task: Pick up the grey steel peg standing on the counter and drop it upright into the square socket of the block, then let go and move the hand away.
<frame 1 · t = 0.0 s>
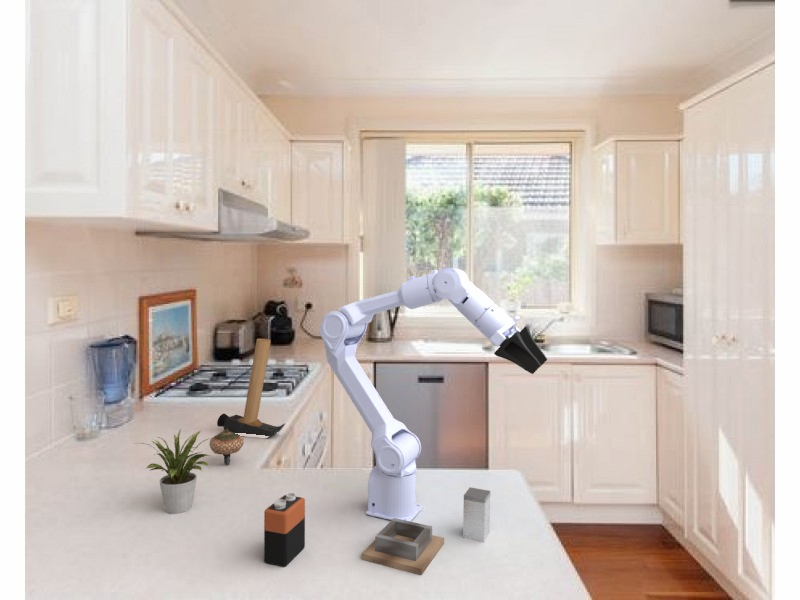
hand: (540, 366, 91), 32 cm above the countertop, tool tilted 50°, fingers open, 7 cm apart
hammer: (250, 435, 155), on the countertop
battery: (285, 556, 87), on the countertop
socket block: (404, 550, 89), on the countertop
house plant: (172, 511, 104), on the countertop
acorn: (226, 465, 129), on the countertop
peg: (476, 535, 95), on the countertop
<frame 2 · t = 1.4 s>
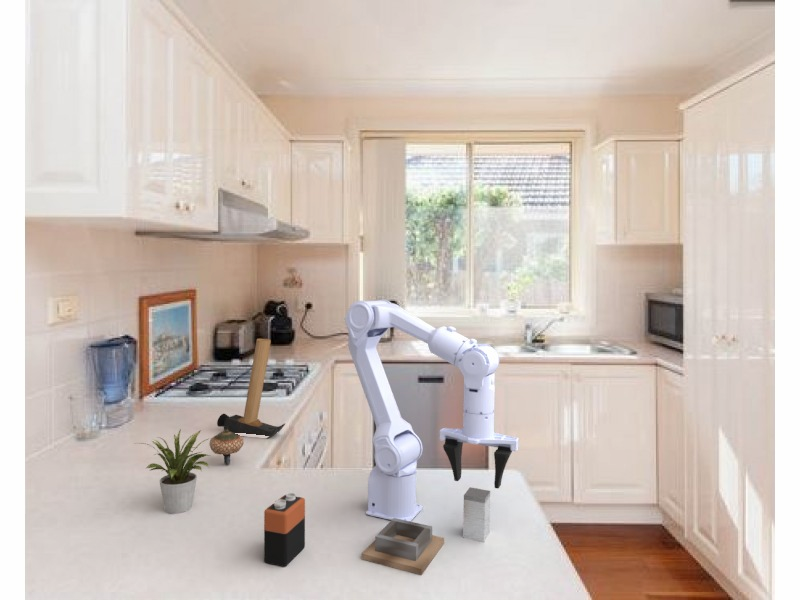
hand: (477, 482, 95), 10 cm above the countertop, tool pointing down, fingers open, 7 cm apart
nothing on the countertop moved.
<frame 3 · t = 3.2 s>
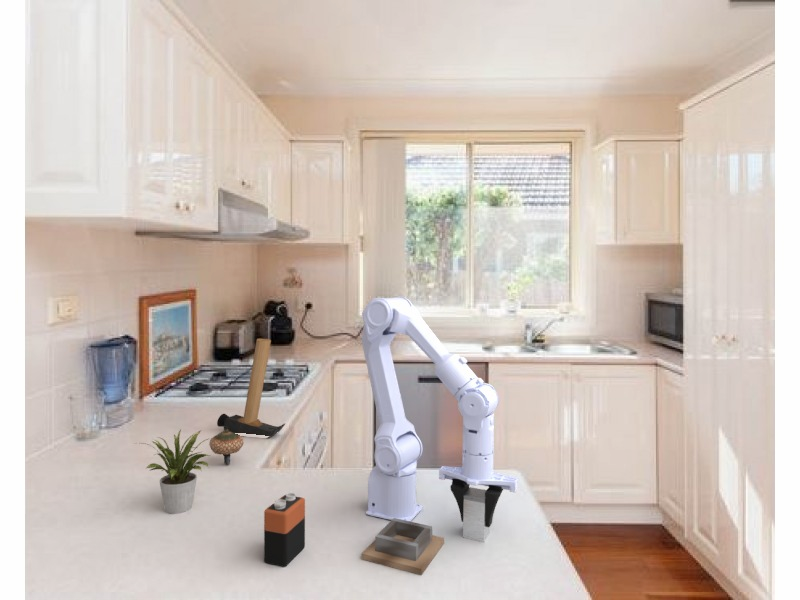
hand: (476, 522, 95), 2 cm above the countertop, tool pointing down, fingers closed on peg, 4 cm apart
peg: (476, 534, 95), on the countertop, touching gripper
everything else where it was.
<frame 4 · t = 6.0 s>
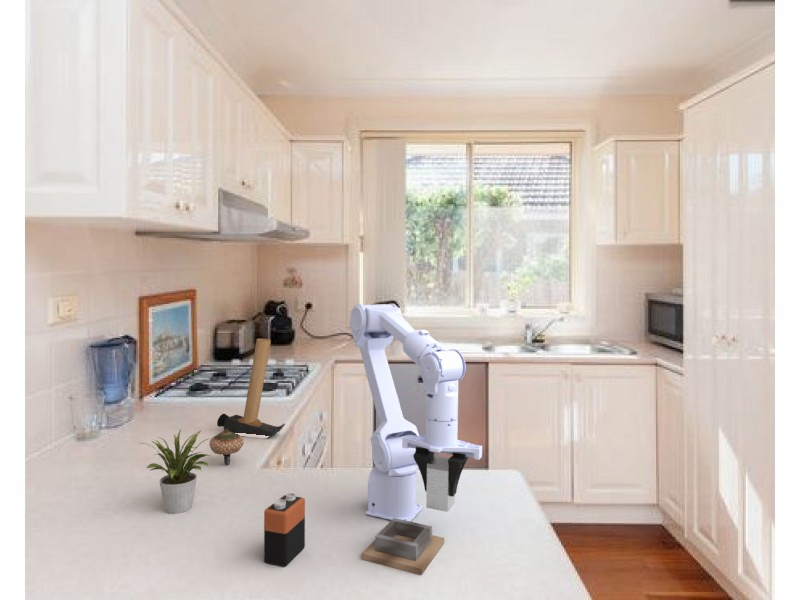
hand: (440, 491, 92), 9 cm above the countertop, tool pointing down, fingers closed on peg, 4 cm apart
peg: (440, 505, 92), point 7 cm above the countertop, touching gripper
everything else where it was.
when the fingers open (5 cm above the countertop, at t = 8.9 s): peg drops 1 cm, resting on socket block.
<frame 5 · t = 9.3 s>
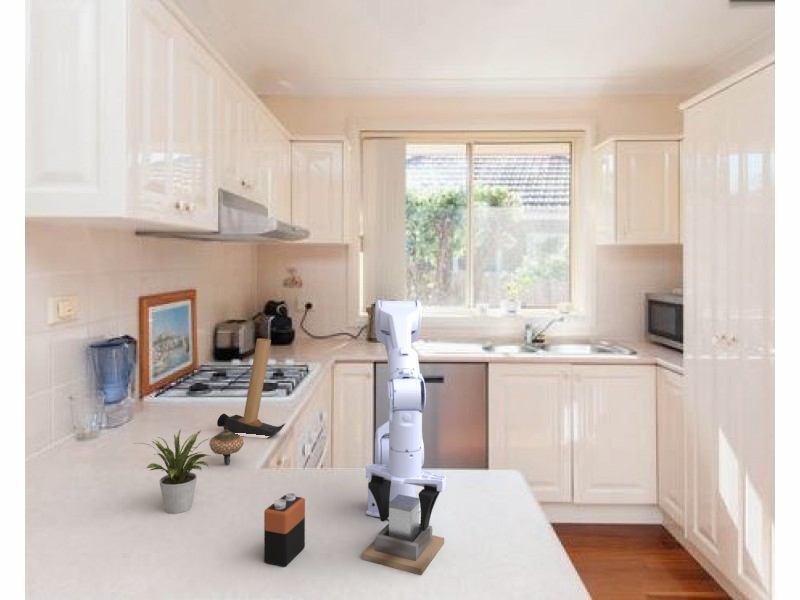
hand: (404, 523, 89), 5 cm above the countertop, tool pointing down, fingers open, 7 cm apart
peg: (403, 545, 89), point 1 cm above the countertop, touching socket block
everything else where it was.
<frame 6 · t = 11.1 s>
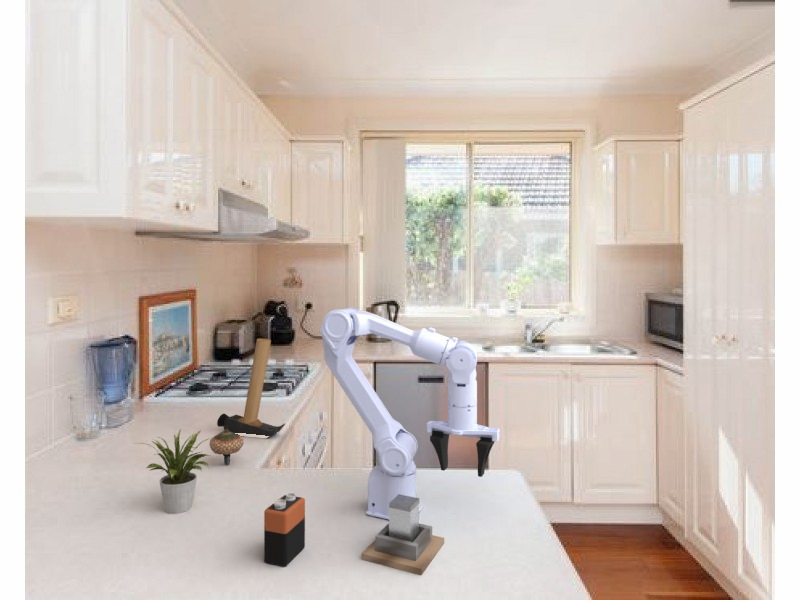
hand: (462, 471, 101), 10 cm above the countertop, tool pointing down, fingers open, 7 cm apart
nothing on the countertop moved.
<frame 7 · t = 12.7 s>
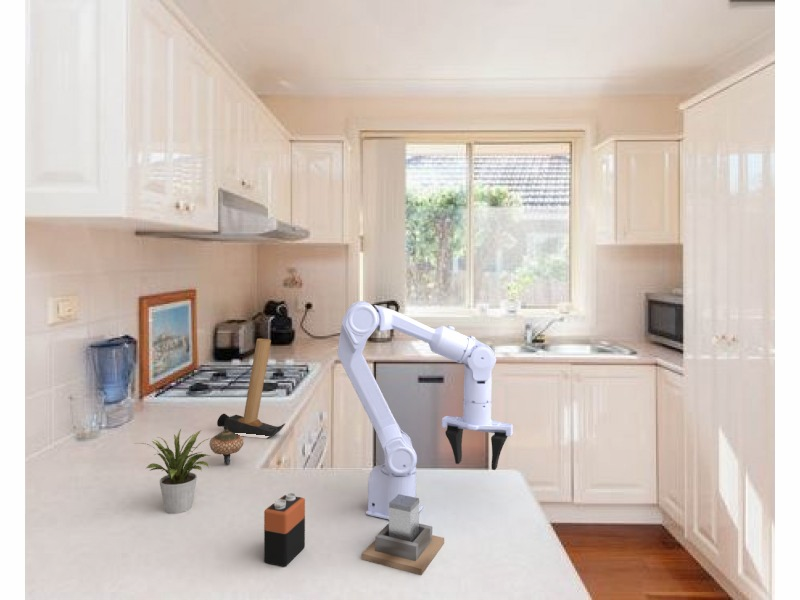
hand: (476, 465, 105), 9 cm above the countertop, tool pointing down, fingers open, 7 cm apart
nothing on the countertop moved.
at the end: peg 0.0 cm off-centre on the socket block, point 1.0 cm above the socket block's base; peg tilted 0°; the gripper is holding nothing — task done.
